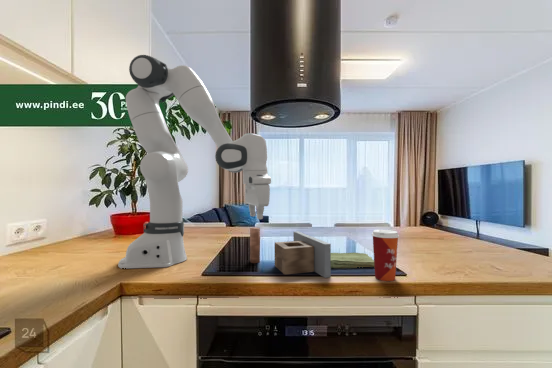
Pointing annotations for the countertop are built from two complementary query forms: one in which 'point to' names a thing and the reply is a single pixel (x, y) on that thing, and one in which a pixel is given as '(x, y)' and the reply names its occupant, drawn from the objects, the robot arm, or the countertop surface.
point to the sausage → (254, 245)
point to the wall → (317, 253)
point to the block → (294, 257)
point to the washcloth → (351, 260)
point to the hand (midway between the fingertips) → (256, 217)
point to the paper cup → (385, 254)
